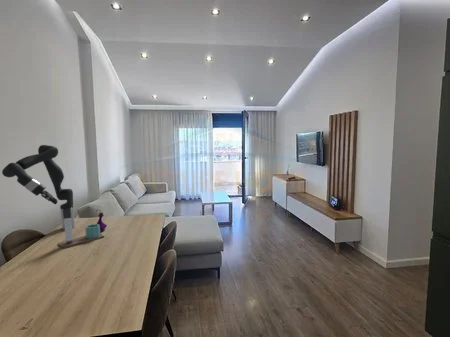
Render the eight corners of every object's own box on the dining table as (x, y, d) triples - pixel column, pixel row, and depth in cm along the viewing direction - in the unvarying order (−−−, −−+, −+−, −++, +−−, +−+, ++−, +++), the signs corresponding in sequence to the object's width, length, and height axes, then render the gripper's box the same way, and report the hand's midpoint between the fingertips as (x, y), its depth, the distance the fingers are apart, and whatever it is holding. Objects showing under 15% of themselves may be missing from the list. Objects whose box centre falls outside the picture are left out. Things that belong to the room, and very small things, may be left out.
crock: (84, 236, 192) (83, 226, 191) (97, 233, 198) (96, 223, 198) (89, 239, 186) (88, 228, 185) (102, 235, 192) (101, 225, 192)
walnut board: (58, 244, 180) (57, 243, 180) (97, 233, 200) (97, 232, 200) (63, 248, 172) (63, 247, 172) (104, 237, 192) (104, 236, 192)
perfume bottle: (107, 229, 211) (105, 207, 209) (102, 232, 203) (100, 210, 202) (98, 229, 212) (97, 207, 210) (93, 232, 204) (91, 210, 202)
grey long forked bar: (66, 242, 181) (63, 209, 178) (73, 241, 183) (70, 208, 180) (65, 244, 178) (62, 210, 175) (73, 243, 180) (70, 209, 177)
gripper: (39, 183, 164) (61, 199, 171) (40, 181, 176) (60, 196, 183) (29, 192, 162) (52, 208, 168) (31, 190, 173) (52, 205, 180)
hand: (56, 202), depth 176 cm, fingers open, 8 cm apart
